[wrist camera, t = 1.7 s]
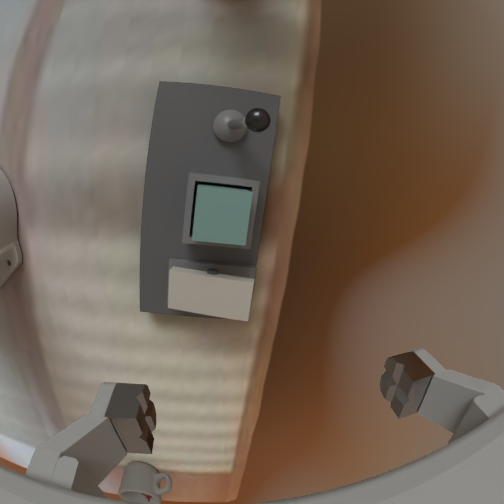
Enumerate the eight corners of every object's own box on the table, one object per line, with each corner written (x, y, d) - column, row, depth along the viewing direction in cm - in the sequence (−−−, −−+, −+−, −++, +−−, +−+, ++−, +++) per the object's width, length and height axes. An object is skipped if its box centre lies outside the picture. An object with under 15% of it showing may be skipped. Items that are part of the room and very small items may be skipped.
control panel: (244, 307, 35) (252, 333, 30) (144, 299, 33) (134, 324, 27) (273, 102, 29) (288, 89, 23) (163, 88, 27) (154, 72, 21)
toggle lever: (238, 136, 26) (273, 134, 21) (219, 133, 25) (250, 129, 20) (241, 116, 26) (277, 109, 21) (222, 113, 25) (254, 103, 20)
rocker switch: (248, 314, 30) (247, 323, 28) (173, 302, 30) (167, 309, 28) (254, 274, 29) (254, 281, 27) (174, 262, 29) (169, 268, 27)
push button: (240, 236, 27) (245, 245, 24) (193, 232, 26) (191, 240, 24) (247, 189, 26) (252, 192, 23) (198, 184, 25) (197, 186, 22)
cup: (160, 453, 42) (159, 488, 34) (181, 472, 44) (182, 504, 37) (114, 459, 41) (109, 491, 33) (137, 478, 44) (134, 507, 36)
